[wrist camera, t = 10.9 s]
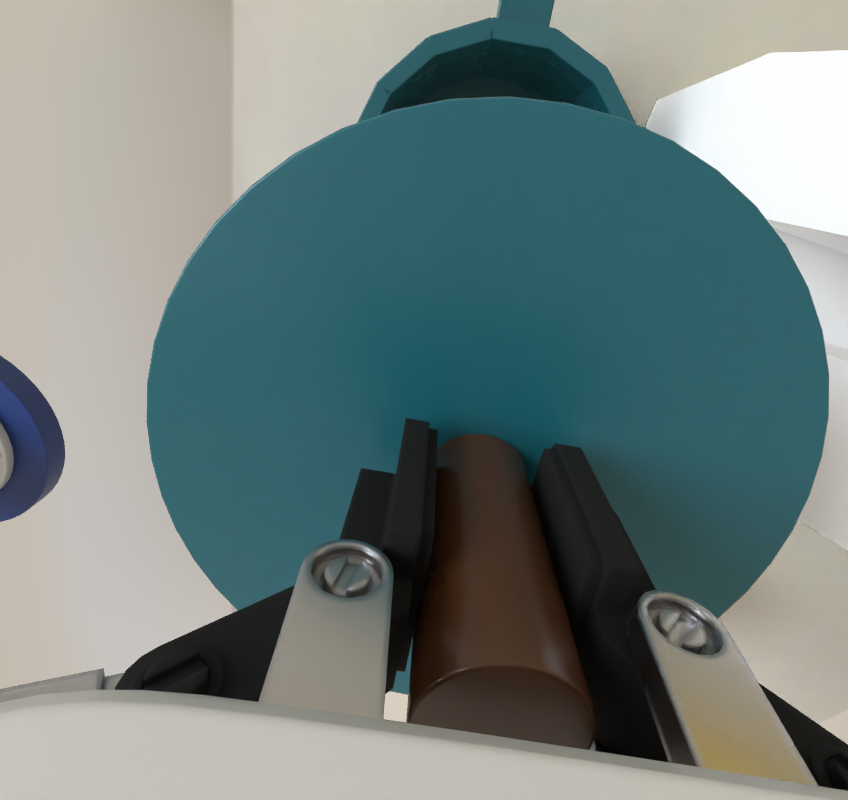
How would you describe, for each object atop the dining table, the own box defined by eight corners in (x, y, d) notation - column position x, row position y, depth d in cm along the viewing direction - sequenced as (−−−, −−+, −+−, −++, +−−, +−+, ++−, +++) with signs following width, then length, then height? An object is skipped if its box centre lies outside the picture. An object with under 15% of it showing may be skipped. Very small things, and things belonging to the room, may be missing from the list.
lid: (178, 627, 16) (-13, 942, 9) (155, 35, 10) (-480, -296, 3) (660, 702, 16) (807, 1054, 10) (937, 183, 10) (1874, 177, 3)
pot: (354, 325, 36) (329, 363, 29) (388, -12, 29) (367, -87, 21) (550, 357, 37) (578, 402, 29) (637, 32, 29) (708, -25, 21)
